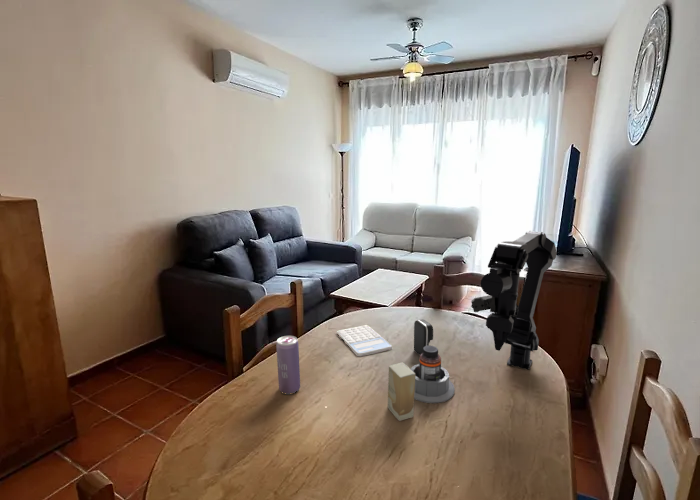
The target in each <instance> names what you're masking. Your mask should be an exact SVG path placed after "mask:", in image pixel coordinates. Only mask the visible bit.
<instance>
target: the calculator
mask: <svg viewBox="0 0 700 500" xmlns="http://www.w3.org/2000/svg"><path fill="white" fill-rule="evenodd" d="M337 333H338V334H339V335H340V336H341V338H342V339H343V340H344V341H345V342H346V343H347V345H348V346H349V347H350V348H351V349H352V350H353V351H352V350H351V349H350V348H349V347H348V346H347V345H346V346H347V347H348V348H349V349H350V350H351V351H352V353H354V354H355V355H356V356H357V357H365V356H369V355H372V354H373V355H374V354H377V353H382V352H385V351H391V350H393V346H392V345H393V344H391V343H390V342H389V341H388V340H387V339H385V338H384V337H383V336H382V335H380V333H378V332H377V331H376V330H374V329H373V328H372V327H370V325H368V324H365V325H359V326H355V327H349V328H345V329H340V330H337V331H336V334H337ZM341 338H340V339H341Z"/></svg>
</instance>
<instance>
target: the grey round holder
mask: <svg viewBox="0 0 700 500" xmlns="http://www.w3.org/2000/svg"><path fill="white" fill-rule="evenodd" d="M410 369H411V370H412V371H413V372H414V373H415V393H414V401H415V400H416V401H418V402H422V403H427V404H440V403H445V402H447V401H449V400H451V399H452V398H453V397H454V395H455V388H456V387H455V385H454V383H453V382H452V381H451V380H450V373H449V370H447V369H446V368H445V367H443V366H442V365H441V379H440V380H438V381H426V380H422V379H419V363H417V364H415V365H412V367H410Z"/></svg>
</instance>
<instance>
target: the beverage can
mask: <svg viewBox="0 0 700 500" xmlns="http://www.w3.org/2000/svg"><path fill="white" fill-rule="evenodd" d="M275 347H276V361H277V363H276V364H277V365H276V366H277V379H278V382H277V383H278V390H279V391H280V393H282V392H283V393H286V394H285V395H291V394H290V393H294V394H295V392H296V391H297V392H299V390H300V388H301V375H300V373H301V372H300V371H301V369H300V352H299V349H300V348H299V341H298V338H297V337H296V336H294V335H284V336H281V337H279V338H277V340H276V346H275ZM297 392H296V393H297ZM283 393H282V394H283Z"/></svg>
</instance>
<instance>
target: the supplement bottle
mask: <svg viewBox="0 0 700 500" xmlns="http://www.w3.org/2000/svg"><path fill="white" fill-rule="evenodd" d="M418 364H419V379H422V380H426V381H438V380H440V379H441V366H442V356H441V355H440V354H439V349H438V347H437V346H434V345H428V346H425V347H424V348H423V353H422V354H421V355H419V361H418Z"/></svg>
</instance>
